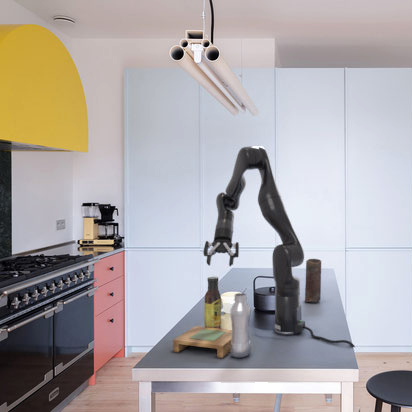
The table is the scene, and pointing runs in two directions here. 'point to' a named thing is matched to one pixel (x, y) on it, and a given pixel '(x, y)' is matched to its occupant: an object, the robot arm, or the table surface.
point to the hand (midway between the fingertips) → (219, 264)
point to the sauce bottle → (212, 304)
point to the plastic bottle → (240, 327)
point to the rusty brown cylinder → (313, 280)
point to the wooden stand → (205, 339)
